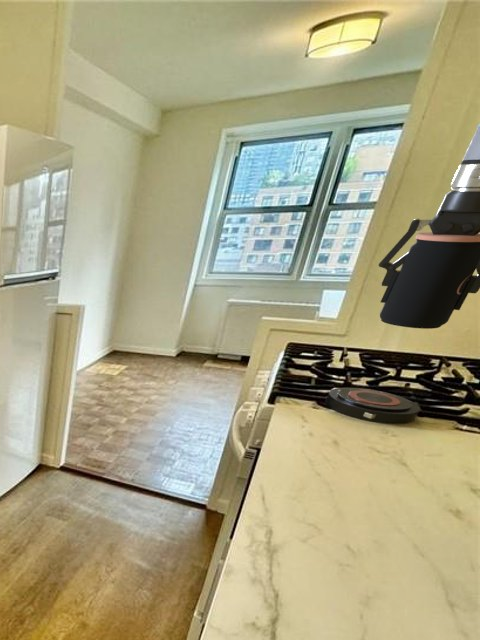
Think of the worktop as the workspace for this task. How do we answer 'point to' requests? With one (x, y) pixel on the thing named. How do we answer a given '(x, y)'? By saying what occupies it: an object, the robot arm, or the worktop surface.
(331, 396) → the hot plate
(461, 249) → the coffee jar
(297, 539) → the worktop surface
